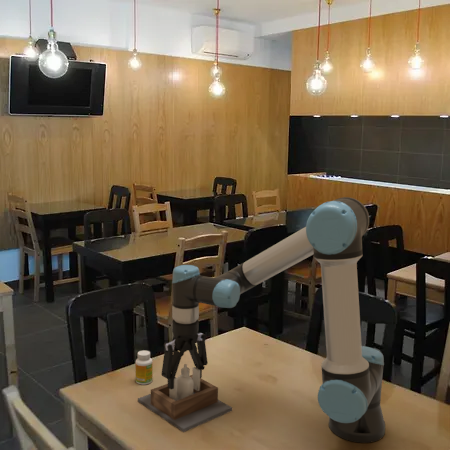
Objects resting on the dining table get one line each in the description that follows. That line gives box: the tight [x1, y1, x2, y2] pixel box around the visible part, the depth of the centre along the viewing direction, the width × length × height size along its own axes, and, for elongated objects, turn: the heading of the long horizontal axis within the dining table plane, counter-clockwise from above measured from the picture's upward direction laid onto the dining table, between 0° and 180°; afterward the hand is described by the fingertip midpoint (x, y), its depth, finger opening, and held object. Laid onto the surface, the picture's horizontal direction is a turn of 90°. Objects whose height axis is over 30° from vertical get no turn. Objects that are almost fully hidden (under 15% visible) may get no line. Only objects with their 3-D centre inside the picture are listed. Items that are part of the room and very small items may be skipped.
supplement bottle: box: [135, 350, 153, 385], centre depth 178 cm, size 5×5×10 cm
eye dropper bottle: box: [176, 363, 194, 400], centre depth 162 cm, size 4×6×12 cm
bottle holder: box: [137, 374, 233, 433], centre depth 163 cm, size 22×18×6 cm
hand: (184, 393), depth 163 cm, fingers open, 8 cm apart
